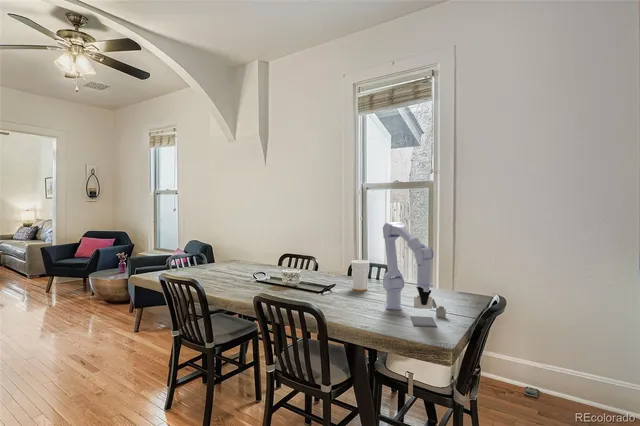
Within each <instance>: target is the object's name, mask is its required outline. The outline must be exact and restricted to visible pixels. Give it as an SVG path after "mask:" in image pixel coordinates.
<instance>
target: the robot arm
mask: <svg viewBox="0 0 640 426" xmlns="http://www.w3.org/2000/svg"><path fill="white" fill-rule="evenodd" d="M382 234H383V239H384V247H385V256H386V268H387V272H386V273H385V274H384V275H383V276H382V277H383V281H382V286H383V289H384V290H385V291H386V297H385V298H386V299H385V300H386V301H385V303H384V306H385V310H397V311H398V310H399V311H400V310H401V311H402V310H403V307H402V305H401V304H402V301H401V296H402V292H403V289H404V288H405V280H404V277H403V273H401V272H400V271H399V267H398V257H397V247H396V245H397V244H396V241H397V239H399V238H400V237H401V238H402V239H403V240H404V241H405V242H406V244H407V247H408V248H409V249H410V250H411V252H413V254H414V258H415V263H416V265H417V267H416V269H417V270H416V273H417V275H416V277H417V278H416V289H417V292H418V296H420V298H421V304H422V305H427V302H428V297H429V296H431V293H432V289H430V287H432V286H434V284H433V283H431V260H433V258H434V254H435V253H434V251H433V249H432V247H431V246H426V245H425V244H424V243H422V241H421V240H420V239H419V238H418V237H413V235H411V233H410V232H409V230H408V229H407V226H406V224H405V223H404V222H403V221H400V222H399V221H398V222H397V221H396V222H395V221H394V222H385V223H384V225H383V226H382Z"/></svg>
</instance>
